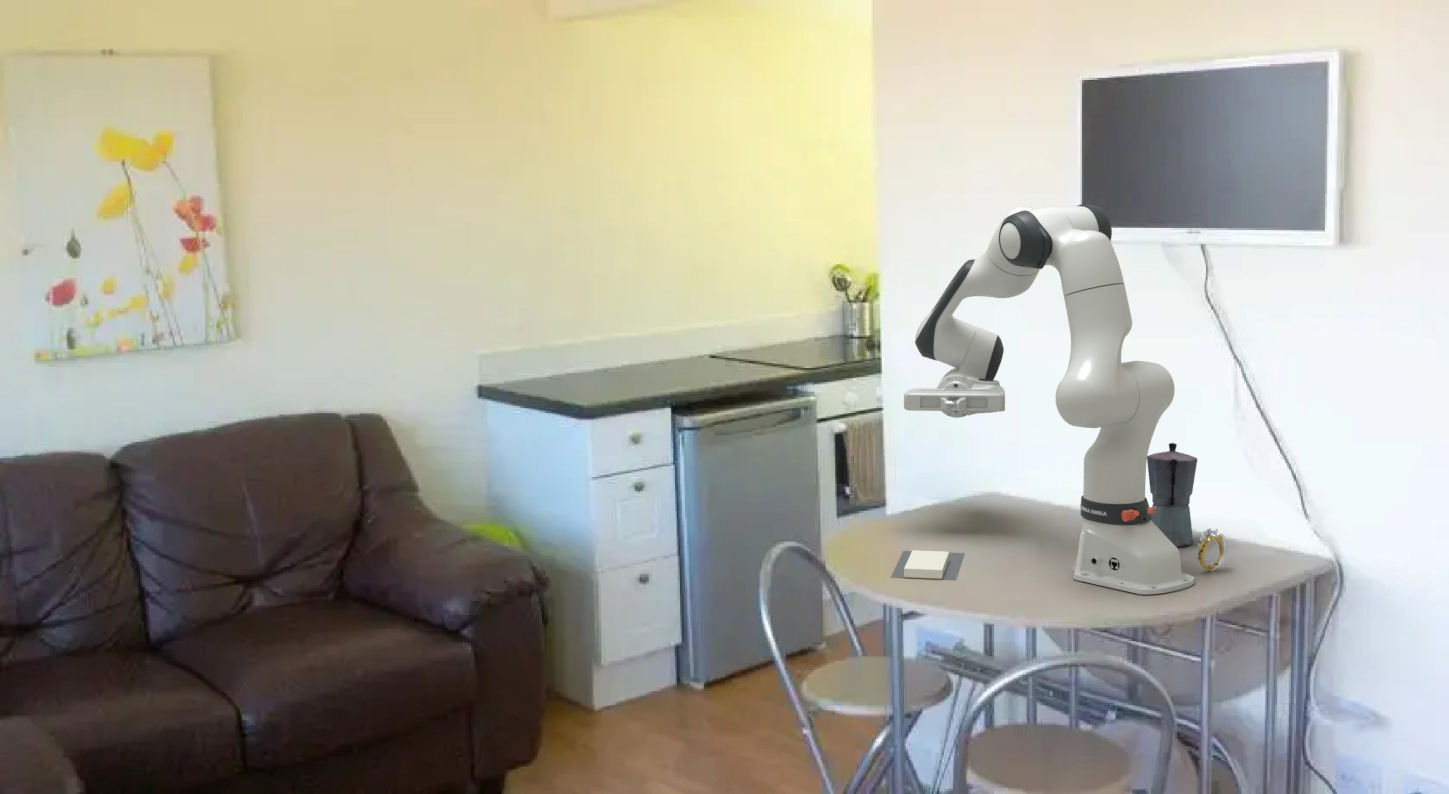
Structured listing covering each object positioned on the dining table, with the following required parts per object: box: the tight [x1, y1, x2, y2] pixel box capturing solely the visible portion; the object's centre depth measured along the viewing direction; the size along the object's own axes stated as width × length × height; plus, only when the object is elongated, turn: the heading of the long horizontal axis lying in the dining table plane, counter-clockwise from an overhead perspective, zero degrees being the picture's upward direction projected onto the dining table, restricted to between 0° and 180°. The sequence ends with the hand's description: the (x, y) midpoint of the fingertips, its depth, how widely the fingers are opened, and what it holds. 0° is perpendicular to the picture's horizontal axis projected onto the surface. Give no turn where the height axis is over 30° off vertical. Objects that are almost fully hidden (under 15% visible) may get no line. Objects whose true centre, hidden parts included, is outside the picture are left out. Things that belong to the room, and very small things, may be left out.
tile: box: [904, 549, 950, 580], centre depth 288 cm, size 2×7×13 cm
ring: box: [1196, 527, 1227, 572], centre depth 283 cm, size 7×3×8 cm, turn 119°
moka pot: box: [1146, 442, 1198, 547], centre depth 302 cm, size 10×15×20 cm, turn 170°
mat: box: [890, 550, 966, 581], centre depth 291 cm, size 19×12×1 cm, turn 166°
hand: (951, 406), depth 302 cm, fingers closed
